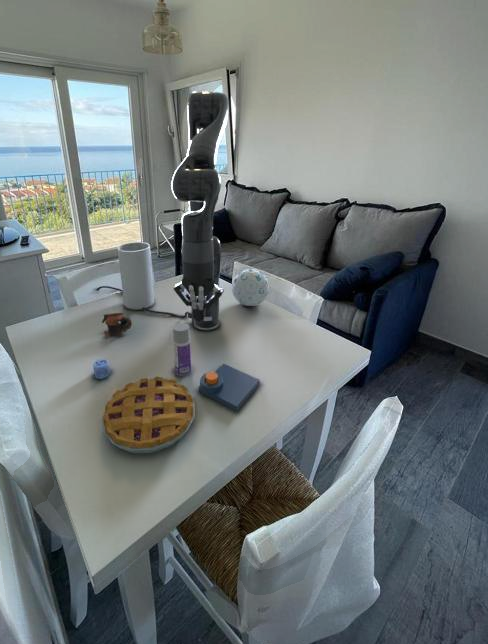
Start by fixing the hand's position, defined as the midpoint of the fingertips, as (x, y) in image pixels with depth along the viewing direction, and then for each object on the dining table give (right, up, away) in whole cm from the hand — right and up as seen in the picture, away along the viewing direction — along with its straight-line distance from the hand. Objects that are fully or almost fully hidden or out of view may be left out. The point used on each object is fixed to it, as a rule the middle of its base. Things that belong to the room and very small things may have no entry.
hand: (199, 320), depth 82 cm
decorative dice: (-29, -18, +11) cm, 35 cm away
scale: (+8, -19, +5) cm, 22 cm away
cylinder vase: (-27, -1, +52) cm, 59 cm away
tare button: (+3, -17, +3) cm, 17 cm away
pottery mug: (-30, -9, +32) cm, 45 cm away
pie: (-12, -24, -5) cm, 27 cm away
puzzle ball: (+20, -1, +51) cm, 55 cm away
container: (-5, -17, +12) cm, 21 cm away
